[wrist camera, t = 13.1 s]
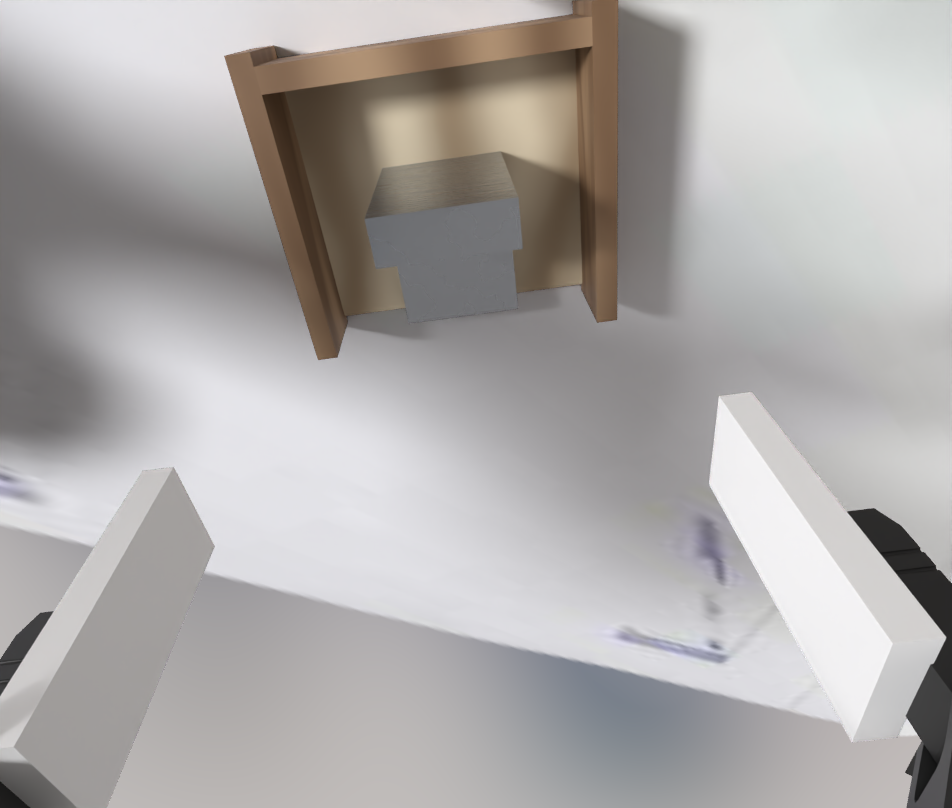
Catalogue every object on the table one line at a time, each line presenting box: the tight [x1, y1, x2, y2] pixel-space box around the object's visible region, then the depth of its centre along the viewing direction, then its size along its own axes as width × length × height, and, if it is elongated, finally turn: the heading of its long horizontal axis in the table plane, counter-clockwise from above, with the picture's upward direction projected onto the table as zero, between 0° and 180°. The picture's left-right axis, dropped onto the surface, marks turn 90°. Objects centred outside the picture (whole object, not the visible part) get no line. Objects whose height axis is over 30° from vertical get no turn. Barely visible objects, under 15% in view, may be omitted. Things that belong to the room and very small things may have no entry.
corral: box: [224, 0, 618, 360], centre depth 35 cm, size 18×16×5 cm
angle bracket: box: [365, 151, 523, 323], centre depth 34 cm, size 9×7×10 cm
